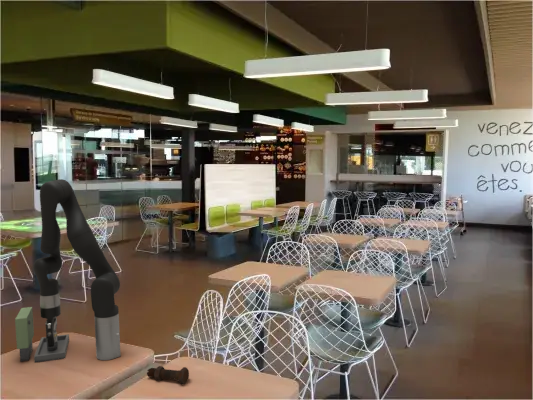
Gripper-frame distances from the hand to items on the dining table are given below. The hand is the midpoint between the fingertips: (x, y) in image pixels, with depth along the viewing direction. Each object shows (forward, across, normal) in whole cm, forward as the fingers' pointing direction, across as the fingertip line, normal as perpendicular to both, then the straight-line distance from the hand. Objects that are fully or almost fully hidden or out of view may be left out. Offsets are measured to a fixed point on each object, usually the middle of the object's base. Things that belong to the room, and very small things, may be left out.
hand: (52, 342), depth 192 cm
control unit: (+4, -2, +10) cm, 10 cm away
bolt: (+4, -42, -42) cm, 59 cm away
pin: (+3, 0, 0) cm, 3 cm away
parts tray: (+4, 0, 0) cm, 4 cm away
